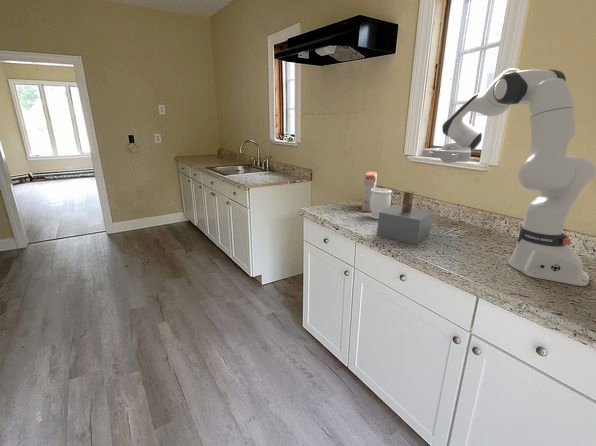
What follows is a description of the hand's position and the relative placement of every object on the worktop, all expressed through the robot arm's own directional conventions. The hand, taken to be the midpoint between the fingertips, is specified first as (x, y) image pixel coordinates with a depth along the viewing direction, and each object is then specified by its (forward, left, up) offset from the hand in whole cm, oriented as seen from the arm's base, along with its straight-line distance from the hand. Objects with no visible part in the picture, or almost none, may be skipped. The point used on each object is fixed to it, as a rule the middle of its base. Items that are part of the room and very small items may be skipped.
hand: (441, 155), depth 139 cm
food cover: (+8, +13, -35) cm, 38 cm away
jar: (+28, -5, -35) cm, 45 cm away
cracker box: (+40, -17, -35) cm, 56 cm away
